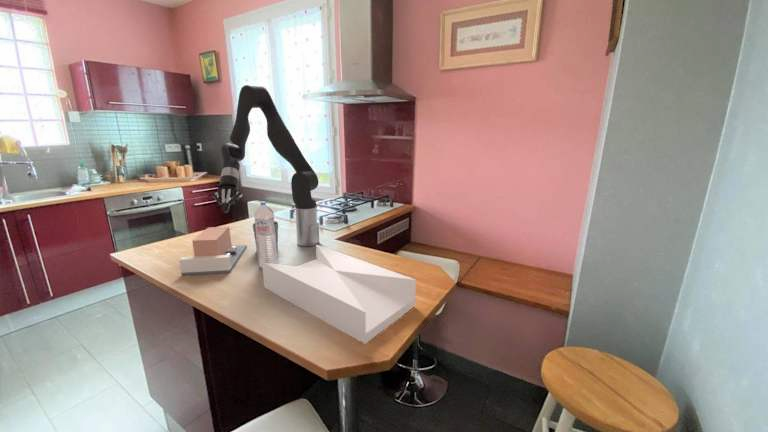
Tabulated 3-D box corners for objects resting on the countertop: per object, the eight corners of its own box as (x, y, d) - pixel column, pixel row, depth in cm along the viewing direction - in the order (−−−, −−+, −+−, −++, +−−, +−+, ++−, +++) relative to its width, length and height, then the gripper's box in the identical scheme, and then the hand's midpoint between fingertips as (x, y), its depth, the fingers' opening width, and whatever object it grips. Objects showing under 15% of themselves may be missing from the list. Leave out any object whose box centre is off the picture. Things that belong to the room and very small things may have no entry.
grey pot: (253, 255, 130) (250, 227, 127) (257, 246, 140) (254, 220, 137) (278, 253, 133) (276, 226, 129) (281, 245, 142) (279, 219, 139)
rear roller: (237, 244, 130) (235, 247, 128) (238, 251, 131) (236, 254, 129) (203, 246, 128) (201, 249, 125) (204, 252, 129) (202, 256, 126)
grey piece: (207, 249, 136) (205, 235, 135) (246, 247, 139) (245, 234, 137) (181, 275, 112) (179, 259, 110) (230, 272, 114) (228, 257, 113)
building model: (414, 308, 94) (416, 279, 92) (365, 346, 78) (365, 312, 75) (316, 267, 121) (315, 244, 119) (264, 288, 104) (262, 262, 102)
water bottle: (281, 263, 123) (277, 201, 116) (268, 270, 117) (262, 205, 110) (268, 260, 125) (263, 199, 119) (254, 267, 119) (248, 202, 113)
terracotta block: (210, 246, 129) (208, 227, 127) (231, 245, 130) (229, 226, 128) (195, 261, 114) (192, 240, 111) (219, 260, 115) (216, 239, 113)
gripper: (211, 174, 140) (205, 207, 131) (242, 174, 142) (238, 206, 133) (216, 184, 146) (211, 216, 138) (246, 183, 148) (243, 215, 140)
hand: (224, 211), depth 135 cm, fingers closed
